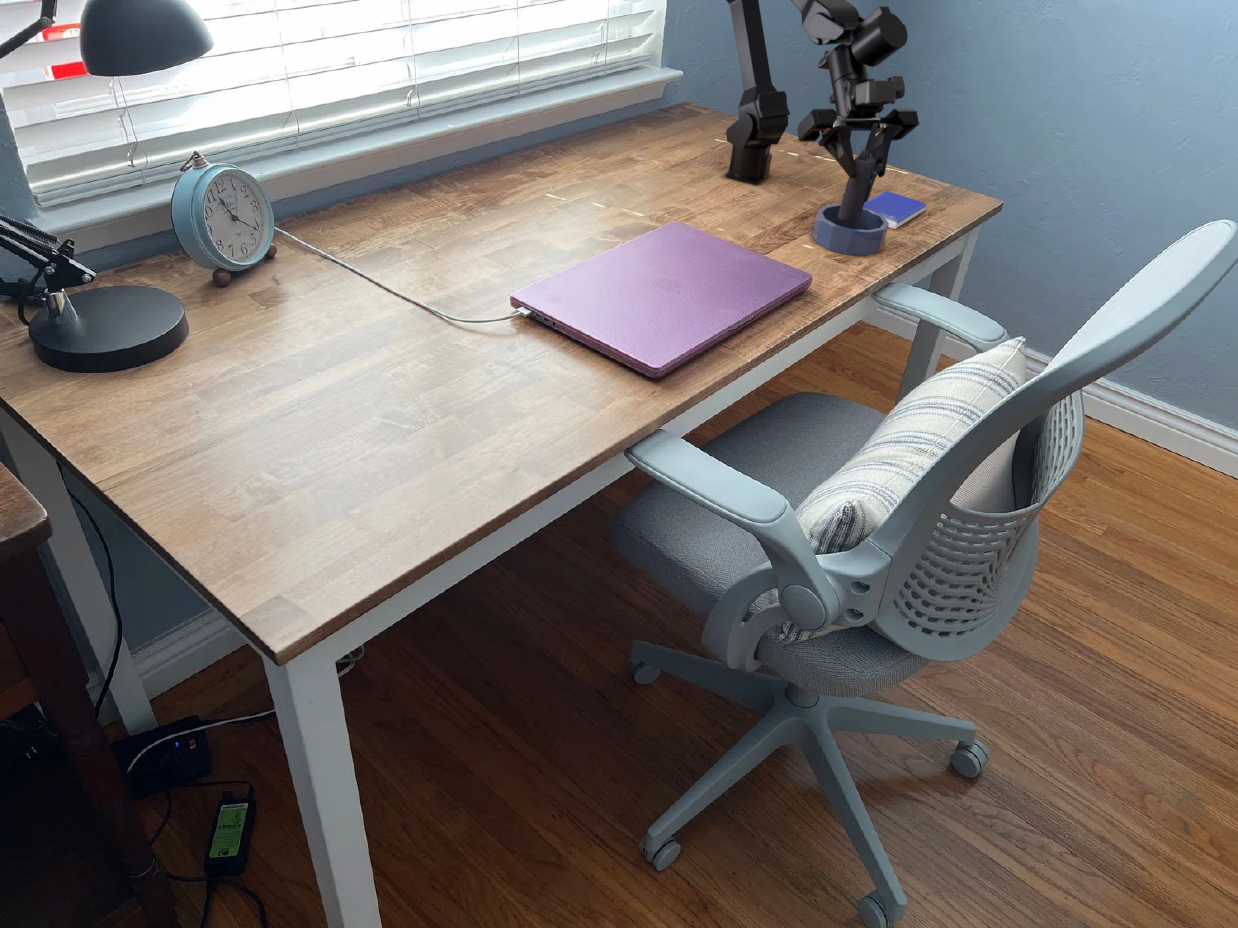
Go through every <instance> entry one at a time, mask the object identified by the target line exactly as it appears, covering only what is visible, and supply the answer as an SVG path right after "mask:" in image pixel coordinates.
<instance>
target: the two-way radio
mask: <svg viewBox="0 0 1238 928" xmlns="http://www.w3.org/2000/svg"><path fill="white" fill-rule="evenodd" d="M877 127H878V124H877V123H874V124H873V126H872V129H871V131H870V132H869V135H868V138H867V142H866V144H865V146H864V147H865V148H864V149H861V152H860V154H858V155H857V156H856V157H854V163H855V172H856V175H855V177H854V178H850V177H849V176H848V179H847V182H846V184H845V188H844V189H845V190H844V192H843V195H842V199H841V203H840V204H841V205H840V206H841V207H840V209H839V214H838V218H839V219H840V220H843V221H846V222H849V223H851V222H855V221H857V220H858V219H859V218H860V216H861V213H862V210H863V207H864V203H865V202H867V201H868V200H870V199H869V198H870V197H871V193H872V189H873V187H874V184H875V180H876V178H877V177H878V173H879V172H880V171H881V170H882V167H883V164H882V163H879V164H878V165H876V160H875V159H874V158H873V157H872V156H871V150H872V146H873V142H874V139H875V135H876V131H877Z"/></svg>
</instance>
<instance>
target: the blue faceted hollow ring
mask: <svg viewBox="0 0 1238 928" xmlns="http://www.w3.org/2000/svg"><path fill="white" fill-rule="evenodd" d="M840 205H841V203H833V204H828V205H822V206H821V207H820V209H818V211H816V216H815V221H814V225H813V228H812V229H813V230H812V233H811V235H812V237H813V239H814V241H815V243H816V244H818V245H819V246H821V247H823V248H825V249H826V250H829V251H832V252H835V253H840V254H843V255H848V256H861V257H862V256H863V257H865V256H870V255H874V254H878V253H879V252H881V250H882V248H883V247H884V244H885V240H886V236H887V232H888V229H889V227H888V226H889V223H888V222H887V220H886V219H885V217H884V216H882V215H880V214H878V213H876V212H875V211H873V210H871V209H867V208H863V210H862V213H861V216H860V218H859V219H858V220H857V221H855V222H851V223H849V222H846V221H843V220H840V219H839V218H838V214H839V209H840V207H841V206H840Z"/></svg>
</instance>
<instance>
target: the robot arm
mask: <svg viewBox="0 0 1238 928" xmlns="http://www.w3.org/2000/svg"><path fill="white" fill-rule="evenodd" d="M725 1H726V3H727V4H728V5H729V9H730V13H731V14H730V16H731V22H732V27H733V33H734V40H735V46H736V51H737V57H738V63H739V68H740V75H741V80H742V87H743V92H742V95H741V98H740V101H739V104H738V107H737V110H738V111H737V112H738V119H737V120H736V121H734V122H733V123H732V124H731V125H730V126H729V127H728V128H726V131H725V133H726V134H725V135H726V142H727V143H729V144H730V145H732V147H731V149H732V150H731V155H730V161H729V168H728V171H726V172H725V173H724V177H725V178H729V179H733V180H737V181H741V182H745V183H748V184H753V185H759V184H760V183H761V182H762V181H765V179H766V178H768V177H769V175H770V170H771V169H770V168H771V164H772V158H773V154H772V153H771V148H772V146H773V145H776V146H777V145H778V144H779V143H780V140H781V139H782V136H783V135H784V133H785V132H786V129H787V128H788V126H789V116H790V115H791V112H790V110H789V107H788V106H789V105H788V96H787V93H786V91H785V90H779V91H778V90H777V88H776V87H775V86H774V84H773V82H772V81H773V80H772V75H771V70H770V64H769V58H768V57H769V56H768V50H767V45H766V44H767V43H766V39H765V32H764V26H763V19H762V13H761V7H760V1H759V0H725ZM790 1H791V2H792V3H793V5H794V6H795V7H796V8H797V9H798V11H799V12H800V15H801V25H802V27H803V29H804V30H805V32H806V34H807V36H808V37H809V39H810V41H811V42H812V43H813V44H815V45H816V46H828V45H837V46H835V47H834V48H833V49H831V50H825V51H824V54H823V56H822V58H821V59H820V60H819V61H818V64H817V68H818V69H822V70H828V71H829V77H830V84H831V89H832V94H831V95H830V96H829V99H828V100H829V104H832V105H833V104H834V106H835V109H833V108H812V109H811V111H809V113H808V114H807V115H806V116H805V117H804V118H803V119H802V120H801V121H800V122H799V123H798V125H797V129H796V132H797V137H798V141H799V142H800V143H808V142H809V143H812V142H813V143H814V142H816V141H817V140H818V138H820V136H821V139H820V140H819V141H818V143H817V144H818V147H823V148H824V149H825V150H826V151H827V152H828V153H829V154H830V155H831V157H833V158H834V159H835V161H836V162H837V164H838V165H839V166H840V167H841V168H842V170H843V171H844V172H845V174H846V175H847V176H848V178H849V177H850V178H854V177H855V175H856V172H855V163H854V160H855V157H854V152H853V148H852V142H851V136H852V132H853V131H854V132H863V131H864V132H869V131H870V132H871V129H872V126H873V124H874V123H877V124H878V127H877V131H876V135H875V139H874V142H873V146H872V150H871V153H870V156H872V157H873V158H874V159H875V160H876V165H878V164H879V163H882V164H883V167H882V170H881V171H880V172H879V173H878V175H877V177H878V178H883V177H884V176H885V174H886V169H887V165H888V164H887V163H888V158H889V152H890V148H891V145H892V142H893V141H894V142H895V141H896V142H897V141H899V140H903V139H904V138H905V137H906V136H907V135H908V134H910V133H911V132H912V131H913V130H915V129H916V128H917V127H918V126H919V125H920V118H919V113H918V110H915V109H914V108H893V109H892V110H891V111H890V112H889V113H888V114H886V116H884V117H882V116H881V117H877V114H880V113H881V112H882V111H884V109H885V108H884V106H885V105H888V104H891V105H895V104H896V100H899V99H902V98H904V97H905V95H906V84H905V81H904V78H903V77H904V76H903V75H893V76H889V77H887V78H886V80H875V78H870V76H869V70H868V67H870V68H875V67H877V66H879V65H880V64H882V63H883V62H884V61H886V60H887V59H889V58H890V57H891V56H893V55H894V54H895V53H896V52H898V51H899V50H900V49H902V48H903V47H904V46H906V44H907V43H908V35H909V34H908V29H907V26H906V24H904V23H903V21H902V20H901V19H900V18H899V17H898V16H897V15H896V14H894V13H893V12H891V9H890V6H889V5H881V6H877V8H875V9H874V10H873V11H872V13H871V14H870V15H869V16H867V17H866V18H865V17H863V16H862V15H860V13H859V11H858V9H857V7H855V5H853V4H852V3H851V2H850V1H848V0H790Z"/></svg>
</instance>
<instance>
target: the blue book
mask: <svg viewBox="0 0 1238 928" xmlns="http://www.w3.org/2000/svg"><path fill="white" fill-rule="evenodd" d="M927 207H928V205H927V203H925V202H923V201H920V200H917V199H914V198H911V197H907V196H905V195H901V194H898V193H895V192H892V191H889V190H885V191H883V192H881V193H880V194H878V195H876V196H874V197H872V198H871V199H868V201H867V202H865V203H864V207H863V208H867V209H871V210H873V211H875V212H876V213H878V214H880V215H882V216H884V217H885V219H886V220H887V222H888V223H889V226H888V229H894V230H895V229H896V230H897V229H898V228H899V227H901V226H902V225H904V224H906V223H907V222H909V221H910V220H912V219H914V218H915V217H917V216H918V215H920V214H921V213H923V212H925V211H926V209H927Z"/></svg>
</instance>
